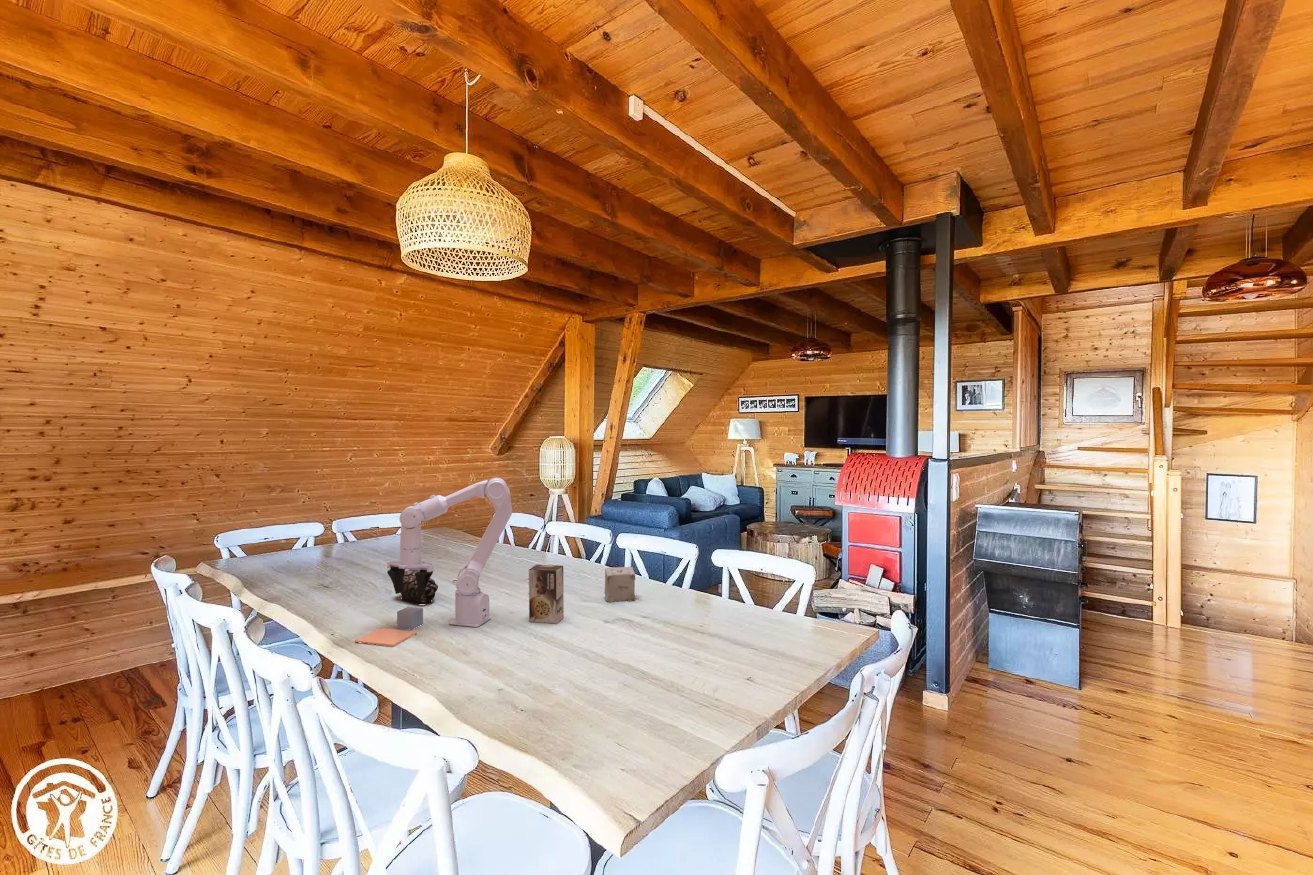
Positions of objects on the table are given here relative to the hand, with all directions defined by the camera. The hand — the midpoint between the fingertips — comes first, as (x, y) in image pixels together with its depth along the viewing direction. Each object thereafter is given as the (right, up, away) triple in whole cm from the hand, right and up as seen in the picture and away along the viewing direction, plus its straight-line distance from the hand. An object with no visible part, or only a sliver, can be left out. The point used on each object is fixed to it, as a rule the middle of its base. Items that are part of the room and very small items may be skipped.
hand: (409, 594), depth 171 cm
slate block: (0, -10, 0) cm, 10 cm away
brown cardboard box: (+60, -10, +29) cm, 67 cm away
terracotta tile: (-2, -10, -10) cm, 14 cm away
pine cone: (-8, -9, +26) cm, 29 cm away
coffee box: (+39, -10, +7) cm, 41 cm away
